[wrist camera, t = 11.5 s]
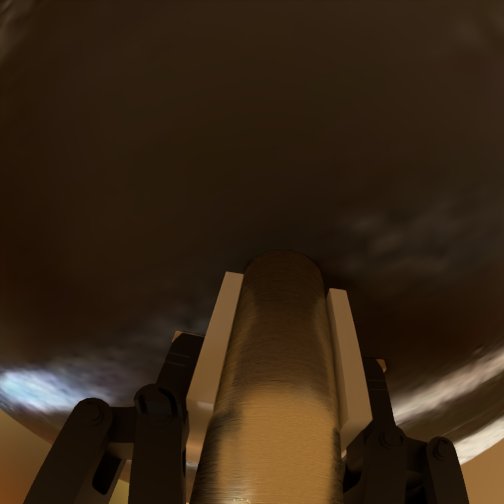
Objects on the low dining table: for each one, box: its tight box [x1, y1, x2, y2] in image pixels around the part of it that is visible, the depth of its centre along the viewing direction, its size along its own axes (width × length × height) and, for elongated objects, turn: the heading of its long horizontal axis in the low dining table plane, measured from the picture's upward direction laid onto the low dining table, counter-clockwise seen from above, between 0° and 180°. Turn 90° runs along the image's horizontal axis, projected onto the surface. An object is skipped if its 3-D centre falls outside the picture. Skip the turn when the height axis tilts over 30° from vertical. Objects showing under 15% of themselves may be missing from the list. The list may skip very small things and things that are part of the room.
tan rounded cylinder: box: [189, 250, 343, 504], centre depth 10 cm, size 4×4×12 cm
